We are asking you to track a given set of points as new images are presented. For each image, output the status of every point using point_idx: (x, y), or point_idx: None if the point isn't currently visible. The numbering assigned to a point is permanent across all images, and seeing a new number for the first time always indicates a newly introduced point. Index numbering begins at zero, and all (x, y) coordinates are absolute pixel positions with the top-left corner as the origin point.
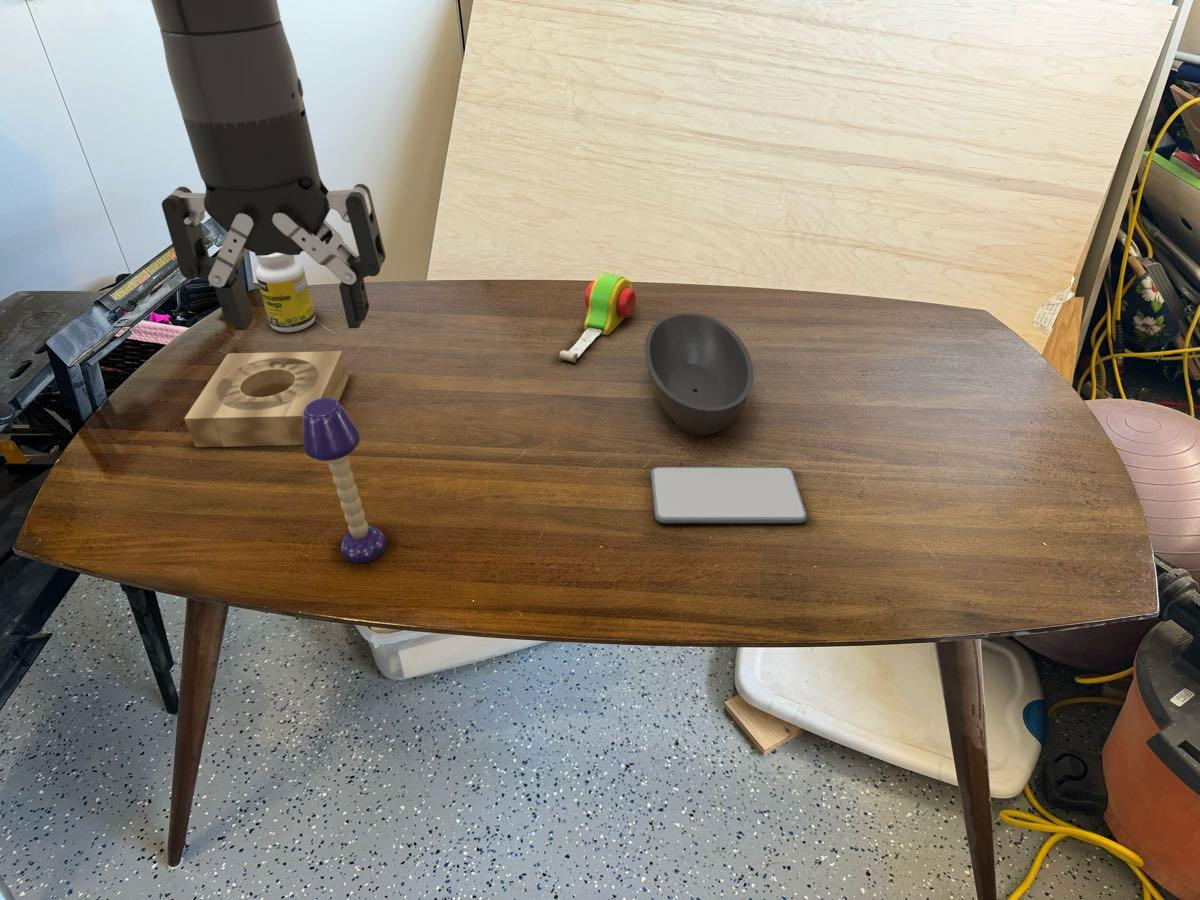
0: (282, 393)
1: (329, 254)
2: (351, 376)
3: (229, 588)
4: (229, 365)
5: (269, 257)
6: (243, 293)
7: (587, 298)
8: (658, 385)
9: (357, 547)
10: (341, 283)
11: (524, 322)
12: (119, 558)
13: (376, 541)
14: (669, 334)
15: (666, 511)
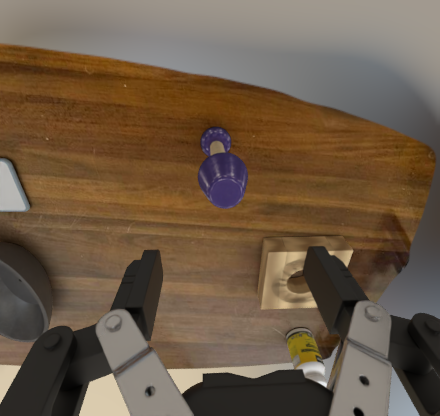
0: (292, 272)
1: (116, 375)
2: (255, 294)
3: (300, 104)
4: None
5: (317, 381)
6: (320, 301)
7: None
8: (19, 274)
9: (216, 133)
10: (141, 313)
11: (158, 337)
12: (377, 136)
13: (204, 140)
14: (41, 324)
15: (1, 167)
